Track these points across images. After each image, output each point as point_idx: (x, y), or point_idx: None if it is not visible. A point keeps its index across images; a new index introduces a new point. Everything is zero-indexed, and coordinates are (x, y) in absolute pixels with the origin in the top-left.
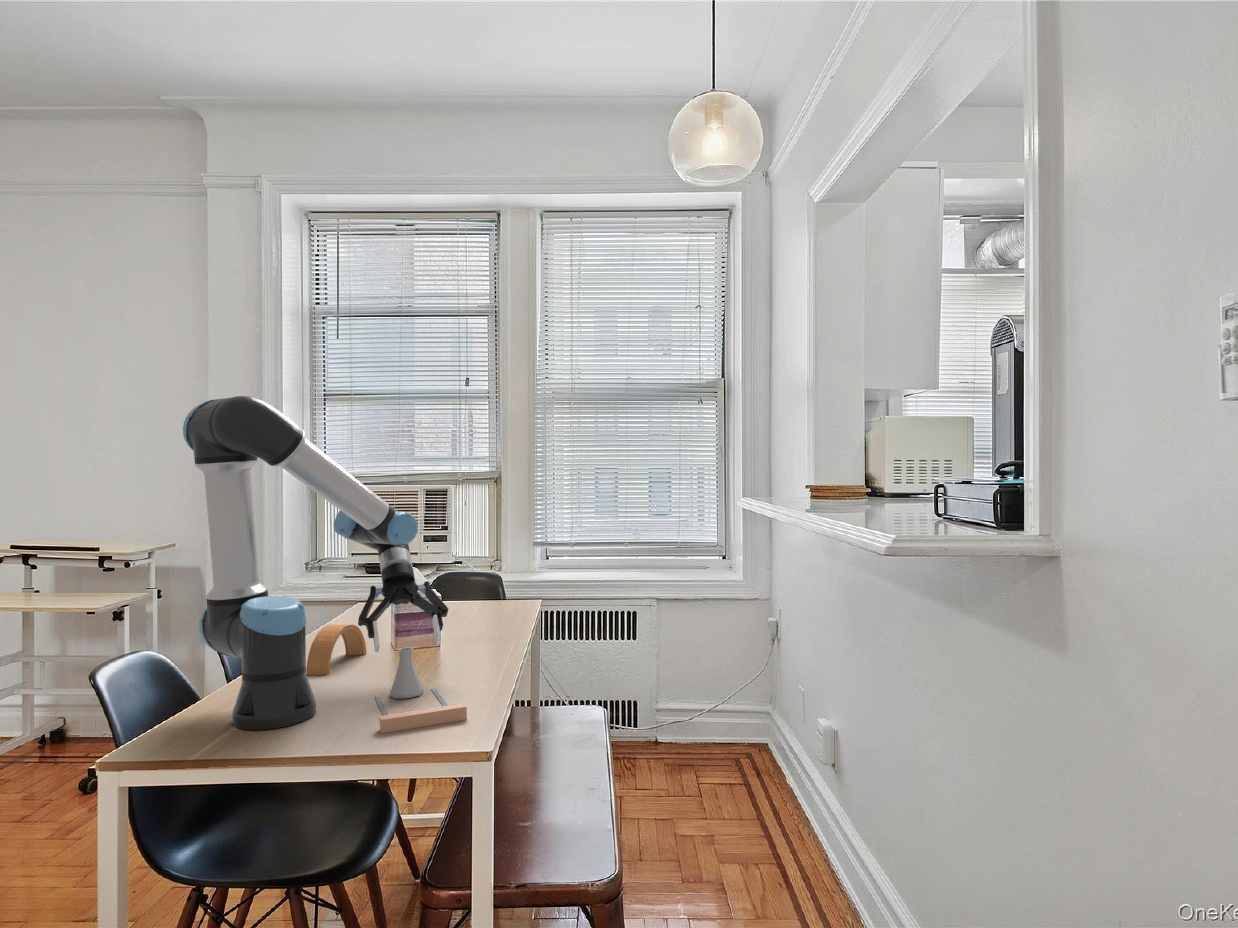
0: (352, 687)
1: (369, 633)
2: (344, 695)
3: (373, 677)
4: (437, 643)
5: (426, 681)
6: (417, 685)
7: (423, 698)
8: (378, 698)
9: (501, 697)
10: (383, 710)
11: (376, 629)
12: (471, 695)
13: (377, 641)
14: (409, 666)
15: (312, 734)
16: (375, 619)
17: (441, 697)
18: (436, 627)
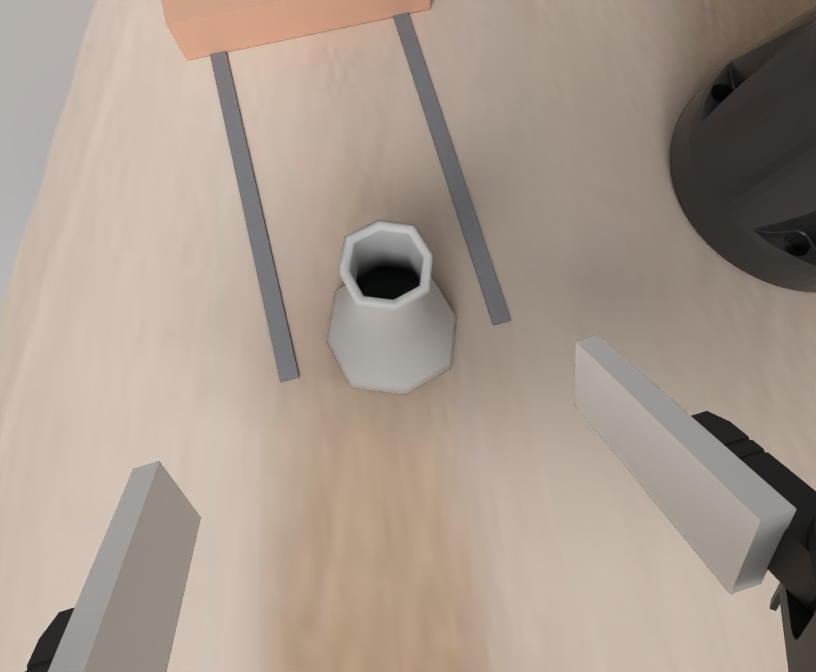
0: (639, 489)
1: (719, 420)
2: None
3: (586, 651)
4: (188, 506)
5: (323, 508)
6: (341, 287)
7: (322, 264)
8: (491, 296)
9: (39, 210)
10: (448, 159)
11: (680, 430)
12: (144, 259)
13: (605, 357)
14: (368, 268)
15: (611, 13)
16: (804, 635)
17: (255, 254)
18: (121, 559)
